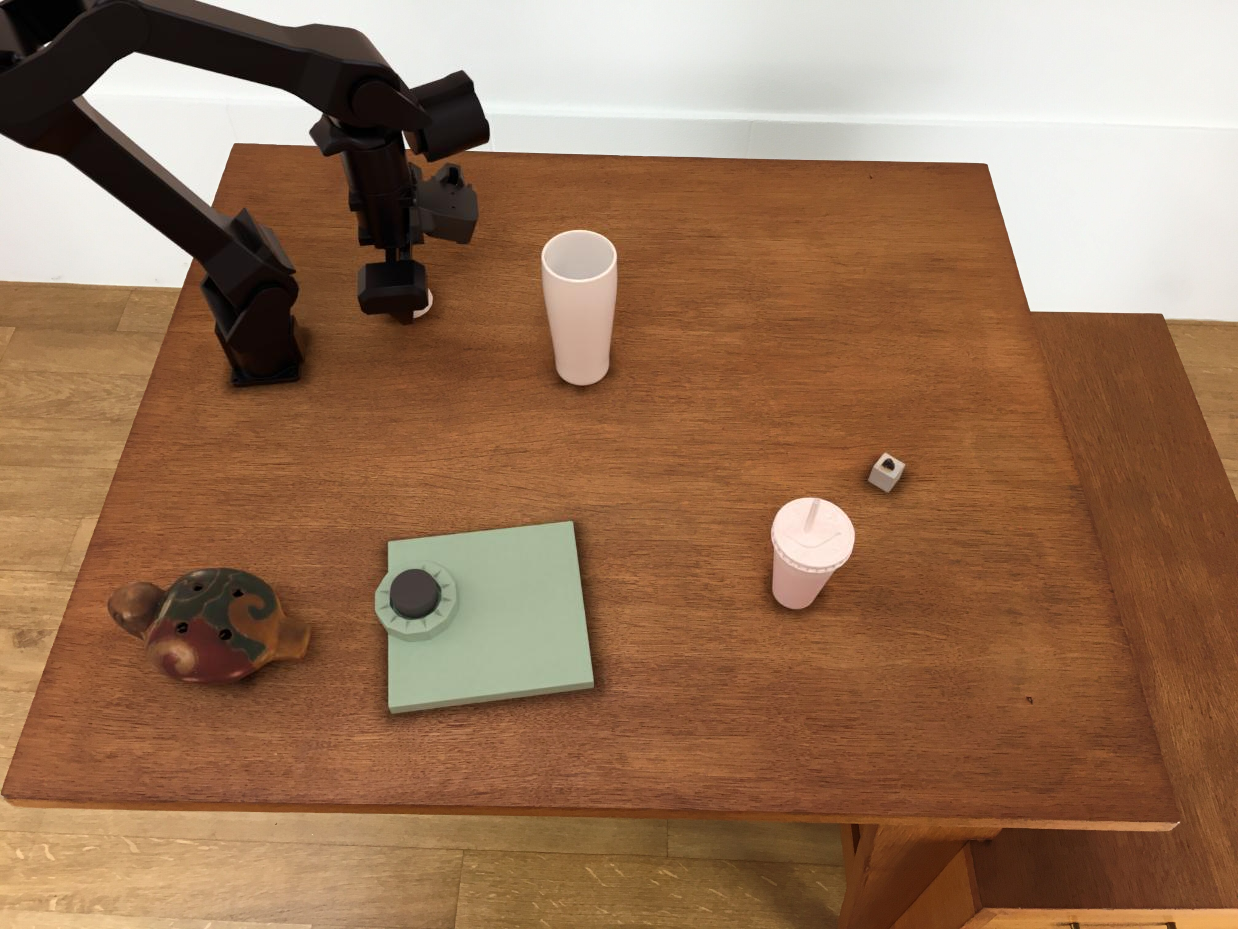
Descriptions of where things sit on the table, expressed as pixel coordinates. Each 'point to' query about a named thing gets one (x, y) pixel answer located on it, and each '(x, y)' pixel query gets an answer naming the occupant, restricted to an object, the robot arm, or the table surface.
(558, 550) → the scale
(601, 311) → the drinking glass
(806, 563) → the smoothie
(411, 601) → the power button
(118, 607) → the multicoloured rounded piece
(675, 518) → the table surface
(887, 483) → the cube with dark pebbles
